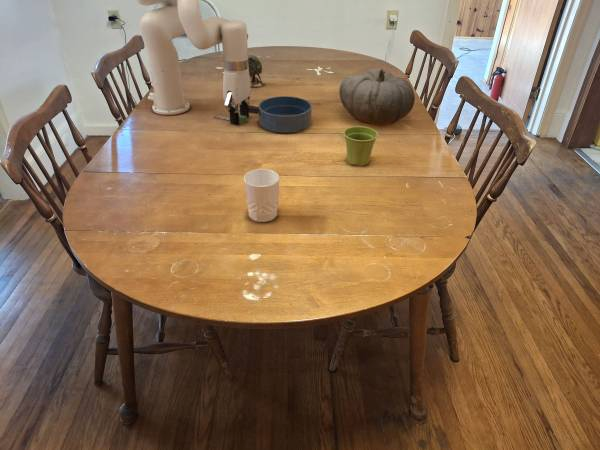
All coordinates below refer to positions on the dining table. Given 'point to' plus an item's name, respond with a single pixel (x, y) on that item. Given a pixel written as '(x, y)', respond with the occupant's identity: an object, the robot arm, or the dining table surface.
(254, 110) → the black knife
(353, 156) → the plant pot
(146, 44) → the robot arm
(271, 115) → the bowl
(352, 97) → the gourd
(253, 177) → the white cup
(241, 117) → the green knife
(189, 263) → the dining table surface
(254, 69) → the grey tall irregular piece
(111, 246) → the dining table surface
